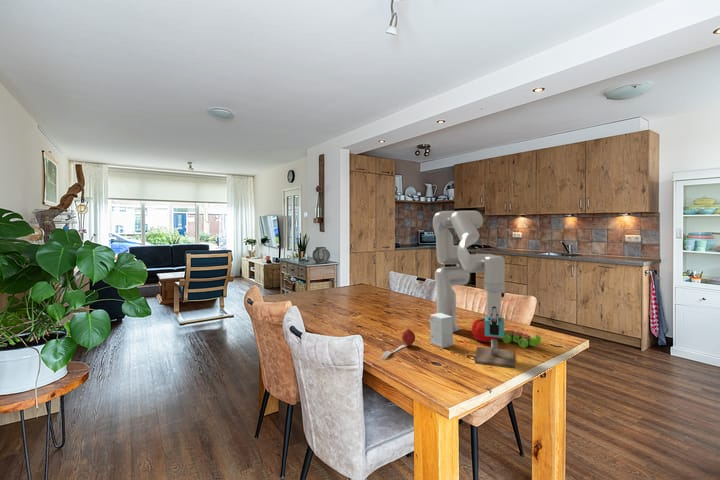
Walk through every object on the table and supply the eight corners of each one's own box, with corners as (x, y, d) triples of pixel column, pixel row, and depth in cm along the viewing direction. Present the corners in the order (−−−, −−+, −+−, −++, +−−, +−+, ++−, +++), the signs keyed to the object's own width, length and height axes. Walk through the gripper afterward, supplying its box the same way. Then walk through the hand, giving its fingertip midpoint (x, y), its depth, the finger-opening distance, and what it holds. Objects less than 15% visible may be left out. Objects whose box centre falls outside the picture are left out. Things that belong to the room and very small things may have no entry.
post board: (474, 362, 132) (474, 345, 132) (476, 348, 147) (476, 332, 147) (514, 367, 127) (514, 349, 127) (512, 352, 142) (512, 336, 142)
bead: (484, 335, 135) (484, 320, 135) (485, 330, 141) (485, 316, 141) (504, 337, 132) (504, 322, 132) (503, 332, 139) (503, 317, 138)
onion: (401, 343, 155) (401, 326, 155) (414, 343, 155) (414, 326, 155) (402, 348, 149) (402, 329, 149) (415, 348, 149) (415, 329, 149)
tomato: (496, 337, 162) (496, 315, 161) (501, 346, 150) (501, 322, 150) (470, 336, 164) (470, 314, 164) (472, 344, 153) (472, 321, 152)
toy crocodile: (492, 339, 159) (492, 326, 158) (500, 336, 163) (500, 324, 163) (536, 351, 143) (536, 337, 143) (543, 348, 147) (543, 333, 147)
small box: (453, 345, 151) (453, 316, 151) (441, 348, 149) (441, 318, 148) (441, 340, 159) (441, 312, 158) (430, 342, 156) (429, 314, 155)
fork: (408, 351, 153) (408, 345, 153) (384, 362, 135) (384, 355, 136) (402, 350, 154) (402, 344, 154) (378, 360, 137) (378, 353, 137)
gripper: (484, 283, 145) (485, 324, 146) (483, 290, 129) (483, 337, 130) (504, 284, 143) (504, 326, 143) (505, 291, 127) (505, 339, 127)
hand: (494, 331), depth 137 cm, fingers closed on bead, 7 cm apart
